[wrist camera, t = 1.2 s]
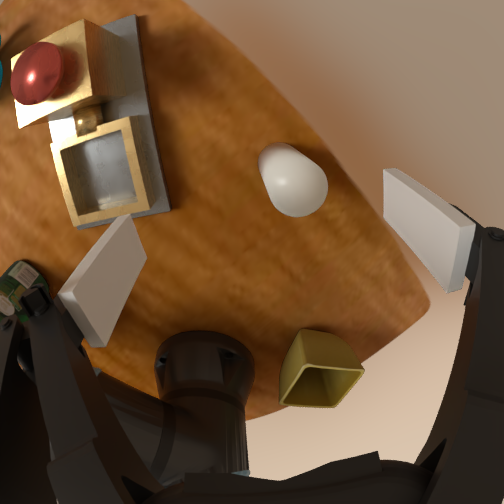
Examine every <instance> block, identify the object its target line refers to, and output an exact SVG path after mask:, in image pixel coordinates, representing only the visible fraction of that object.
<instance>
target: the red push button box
mask: <svg viewBox="0 0 504 504" xmlns="http://www.w3.org/2000/svg"><path fill="white" fill-rule="evenodd" d="M11 65H12V75H11V91H12V94H13V96H14V98H15V105H16V111H17V118H18V124H19V128H23V127H27V126H32V125H36V124H41V123H46V122H49V125H50V130H51V135H52V140H53V143H52V144H50V145H51V149H52V154H53V158H54V162H55V166H56V170H57V174H58V177H59V181H60V185H61V188H62V192H63V195H64V198H65V202H66V205H67V208H68V211H69V214H70V217H71V220H72V223H73V226H77V229H78V230H81V229H85V228H90V227H94V226H98V225H103V224H108V223H112V222H114V221H115V220H116V218H117V217H119V216H123V215H127V214H131V217H132V218H136V217H141V216H146V215H151V214H156V213H162V212H167V211H171V209H172V205H171V201H170V197H169V193H168V188H167V184H166V180H165V175H164V171H163V166H162V161H161V157H160V152H159V147H158V142H157V137H156V132H155V127H154V121H153V116H152V110H151V105H150V99H149V93H148V87H147V81H146V75H145V68H144V61H143V54H142V47H141V39H140V31H139V22H138V16H137V15H135V14H134V15H131V16H128V17H125V18H122V19H119V20H116V21H114V22H111V23H108V24H106V25H103V26H101V27H100V26H98V25H96V24H94V23H92V22H90V21H88V20H86V19H82V20H80V21H77V22H75V23H73V24H71V25H69V26H67V27H65V28H63V29H61V30H59V31H57V32H55V33H53V34H51V35H50V36H48V37H46V38H44V39H42V40H41V41H39V42H37V43H34V44H32V45H31V46H29V47H28V48H27V49H25V50H24V51H22V52H21V53H19V54H18V55H16V56H15V57H13V58H12V59H11Z"/></svg>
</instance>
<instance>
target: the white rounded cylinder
mask: <svg viewBox="0 0 504 504" xmlns="http://www.w3.org/2000/svg"><path fill="white" fill-rule="evenodd" d="M258 168H259V171H260V173H261V176H262V178H263V181H264V184H265V186H266V189H267V191H268V194H269V197H270V199H271V201H272V203H273V205H274V206H275V207H276V208H277V209H278V210H279V211H280V212H282V213H283V214H285V215H288V216H292V217H302V216H306V215H309V214H311V213H313V212H315V211H316V210H317V209H318V208H319V207H320V206H321V205H322V204H323V202H324V200H325V198H326V196H327V192H328V182H327V178H326V175H325V173H324V172H323V170H322V169H321V168H320V167H319V166H318V165H317V164H315V163H314V162H313V161H311V160H310V159H309V158H307V157H306V156H304V155H303V154H302V153H300V152H299V151H298V150H296V149H295V148H293V147H292V146H290V145H289V144H286V143H282V142H276V143H272V144H270V145H268V146H266V147H265V148H264V149H263V150H262V152H261V153H260V155H259V158H258Z"/></svg>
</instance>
